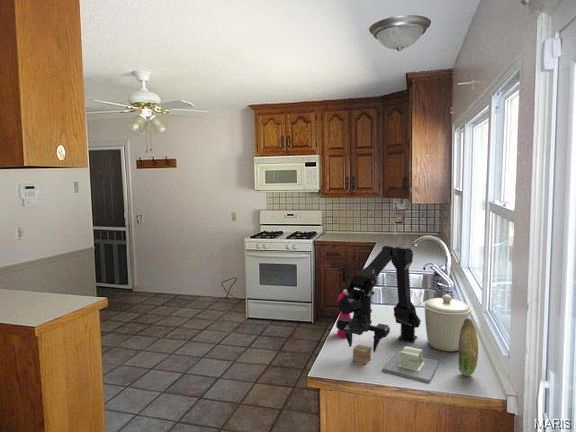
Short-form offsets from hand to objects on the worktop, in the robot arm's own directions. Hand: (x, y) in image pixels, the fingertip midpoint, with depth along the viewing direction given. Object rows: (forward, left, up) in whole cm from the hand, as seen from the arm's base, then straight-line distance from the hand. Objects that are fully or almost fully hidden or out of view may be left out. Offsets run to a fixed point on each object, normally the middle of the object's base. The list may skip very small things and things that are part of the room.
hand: (362, 349), depth 150 cm
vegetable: (-7, +35, -5) cm, 36 cm away
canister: (-29, +24, -5) cm, 38 cm away
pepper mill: (-19, -15, -5) cm, 25 cm away
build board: (-4, +17, -4) cm, 18 cm away
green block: (-4, +17, -3) cm, 18 cm away
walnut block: (0, 0, -4) cm, 5 cm away
